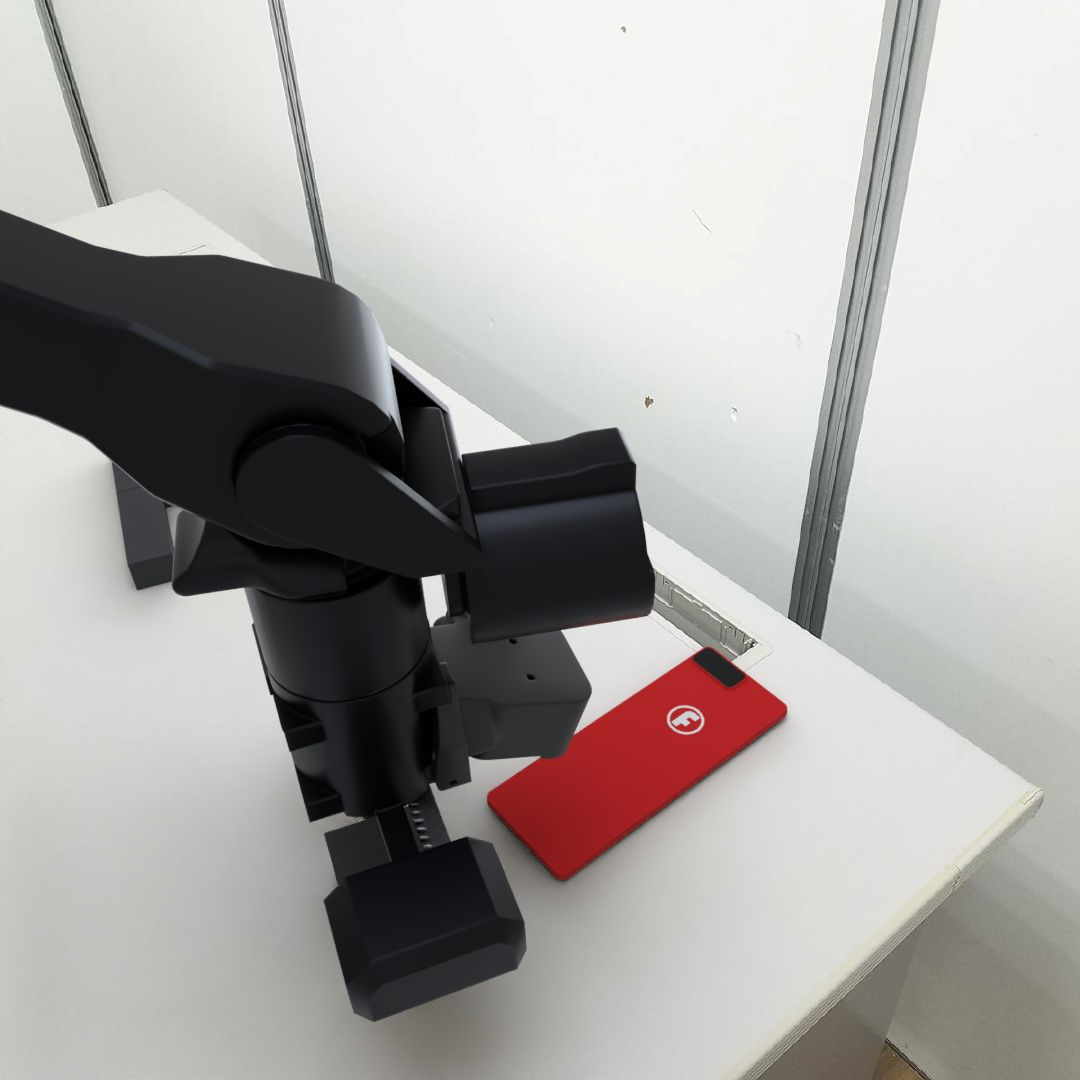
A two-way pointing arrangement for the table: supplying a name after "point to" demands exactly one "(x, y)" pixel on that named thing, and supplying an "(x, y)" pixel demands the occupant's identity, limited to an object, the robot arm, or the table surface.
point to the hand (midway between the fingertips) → (398, 885)
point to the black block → (361, 846)
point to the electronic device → (634, 761)
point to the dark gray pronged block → (144, 532)
